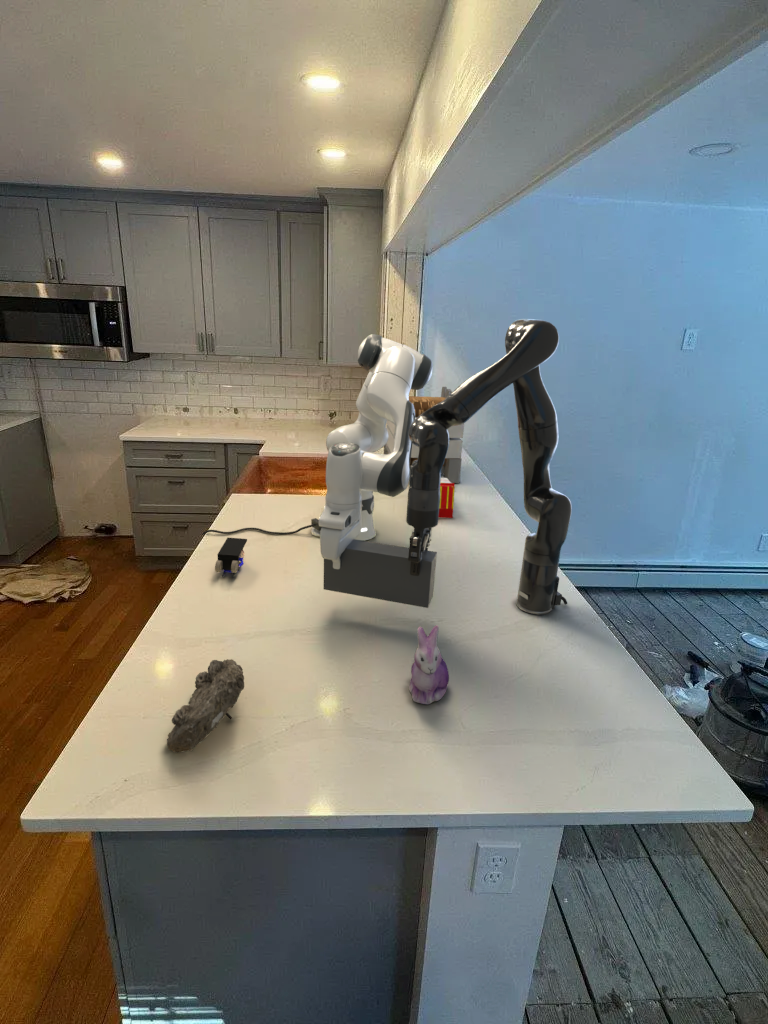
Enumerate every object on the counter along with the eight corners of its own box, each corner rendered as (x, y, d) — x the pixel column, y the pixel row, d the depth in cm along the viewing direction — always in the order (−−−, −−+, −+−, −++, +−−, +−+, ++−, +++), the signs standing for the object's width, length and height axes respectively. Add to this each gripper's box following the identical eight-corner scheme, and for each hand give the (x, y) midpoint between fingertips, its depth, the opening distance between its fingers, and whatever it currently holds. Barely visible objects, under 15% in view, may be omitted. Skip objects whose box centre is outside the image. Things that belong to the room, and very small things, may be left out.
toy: (448, 473, 241) (459, 484, 212) (446, 504, 244) (457, 519, 215) (419, 472, 241) (426, 483, 211) (418, 503, 243) (425, 518, 214)
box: (323, 589, 143) (323, 544, 139) (332, 579, 149) (332, 535, 145) (428, 608, 136) (431, 561, 132) (433, 596, 142) (436, 551, 138)
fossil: (192, 660, 117) (244, 628, 112) (224, 691, 120) (276, 661, 115) (142, 746, 98) (202, 712, 93) (182, 779, 101) (242, 748, 96)
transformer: (382, 463, 289) (386, 382, 275) (445, 464, 293) (451, 384, 279) (390, 482, 257) (394, 392, 243) (460, 483, 261) (468, 394, 247)
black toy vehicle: (238, 584, 162) (249, 557, 175) (236, 562, 158) (247, 536, 172) (215, 584, 161) (227, 556, 175) (212, 561, 158) (225, 535, 171)
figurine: (421, 712, 112) (426, 647, 106) (396, 683, 120) (400, 621, 115) (461, 699, 116) (467, 636, 111) (434, 672, 124) (439, 611, 119)
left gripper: (345, 496, 148) (344, 544, 153) (315, 522, 129) (315, 576, 134) (368, 499, 147) (366, 548, 151) (341, 525, 128) (340, 580, 133)
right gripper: (433, 516, 124) (427, 583, 130) (444, 497, 137) (439, 558, 143) (400, 511, 126) (396, 577, 132) (414, 493, 139) (410, 554, 145)
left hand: (342, 561), depth 143 cm, fingers closed on box, 6 cm apart
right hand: (418, 567), depth 137 cm, fingers open, 8 cm apart
